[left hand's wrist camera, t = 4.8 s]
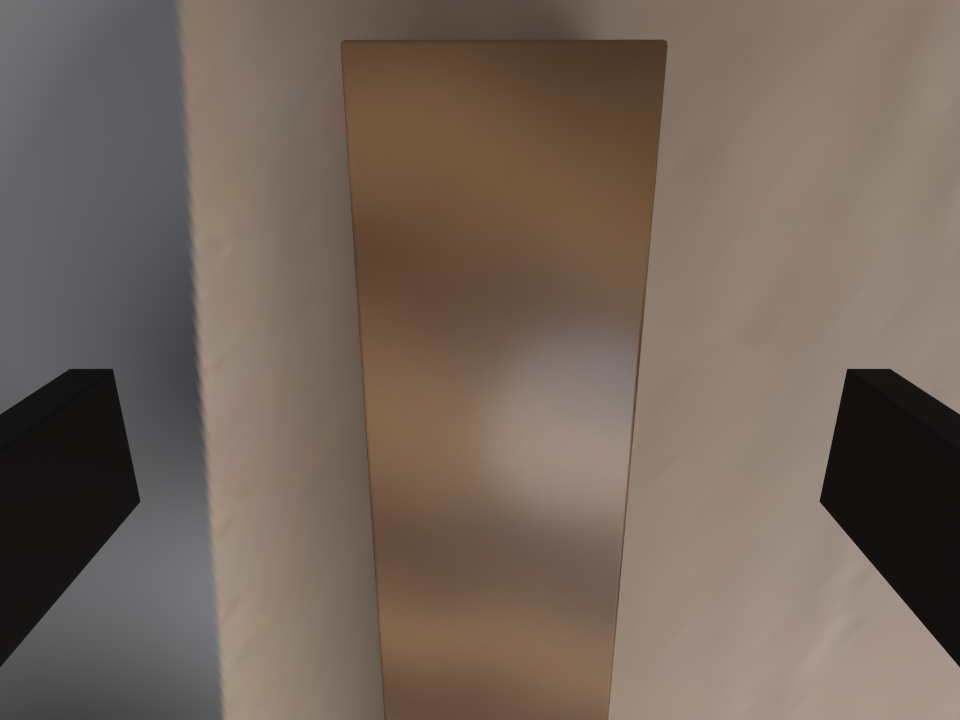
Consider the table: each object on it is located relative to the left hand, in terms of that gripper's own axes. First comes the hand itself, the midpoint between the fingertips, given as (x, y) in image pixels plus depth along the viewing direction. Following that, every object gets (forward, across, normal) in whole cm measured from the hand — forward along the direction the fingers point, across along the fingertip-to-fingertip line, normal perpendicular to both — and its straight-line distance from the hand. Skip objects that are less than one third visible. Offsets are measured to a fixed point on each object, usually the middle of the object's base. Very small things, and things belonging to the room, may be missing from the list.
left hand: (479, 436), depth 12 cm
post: (+9, 0, -27) cm, 29 cm away
